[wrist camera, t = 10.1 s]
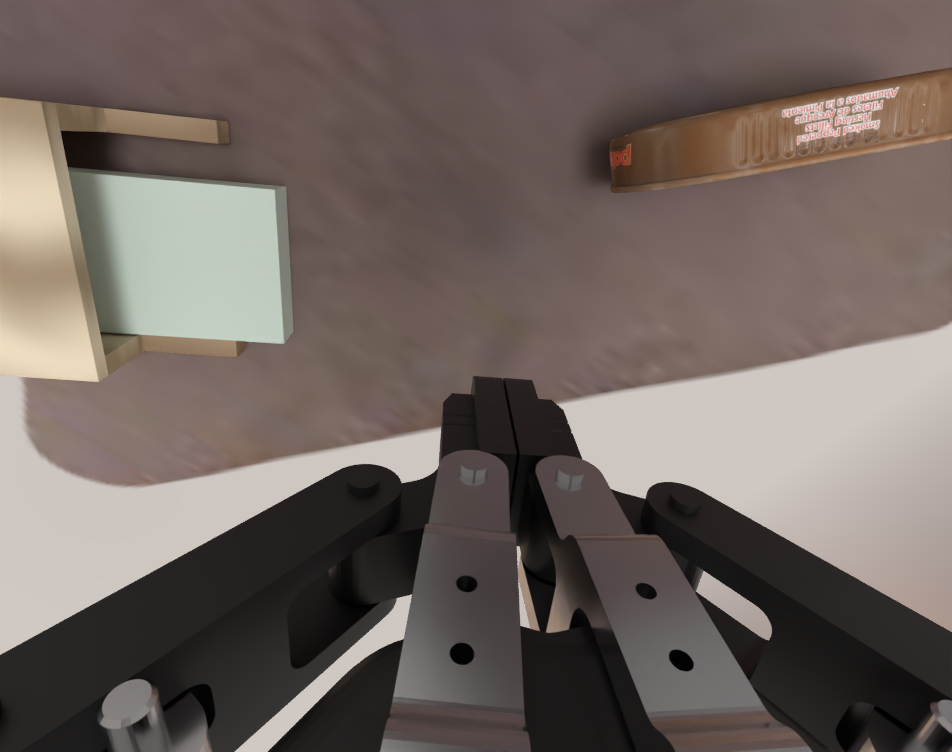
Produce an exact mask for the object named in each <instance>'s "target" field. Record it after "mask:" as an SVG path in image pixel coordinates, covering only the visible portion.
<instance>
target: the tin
mask: <svg viewBox="0 0 952 752" xmlns="http://www.w3.org/2000/svg"><path fill="white" fill-rule="evenodd" d="M948 139H952V68H946V69H940V70H934V71H927V72H921V73H916V74H910V75H904V76H898V77H892V78H887V79H881V80H875V81H870V82H864V83H858V84H852V85H846V86H841V87H835V88H830V89H824V90H819V91H814V92H809V93H804V94H798V95H793V96H788V97H783V98H778V99H773V100H769V101H764V102H758V103H753V104H748V105H743V106H738V107H733V108H728V109H723V110H718V111H713V112H708V113H704V114H699V115H694V116H689V117H684V118H680V119H675V120H671V121H667V122H663V123H659V124H655V125H651V126H647V127H643V128H641V129H638V130H636V131H634V132H631V133H625V134H619V135H616V136H615V137H613V138H612V140H611V142H610V164H611V175H612V186H611V187H610V191H611V192H613V193H622V192H623V193H626V192H639V191H649V190H659V189H667V188H674V187H681V186H687V185H695V184H702V183H708V182H714V181H721V180H726V179H733V178H738V177H744V176H750V175H756V174H760V173H766V172H772V171H778V170H783V169H788V168H795V167H800V166H805V165H811V164H816V163H822V162H827V161H832V160H838V159H844V158H849V157H855V156H860V155H866V154H871V153H878V152H883V151H888V150H893V149H899V148H906V147H911V146H917V145H922V144H928V143H933V142H939V141H944V140H948Z"/></svg>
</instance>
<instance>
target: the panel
mask: <svg viewBox="0 0 952 752" xmlns="http://www.w3.org/2000/svg"><path fill="white" fill-rule="evenodd" d="M68 172H69V177H70V182H71V187H72V192H73V197H74V203H75V208H76V213H77V218H78V223H79V228H80V233H81V238H82V243H83V248H84V253H85V258H86V263H87V269H88V274H89V279H90V284H91V289H92V294H93V299H94V304H95V309H96V314H97V319H98V324H99V329H100V332H108V333H123V334H139V335H154V336H170V337H186V338H201V339H217V340H232V341H248V342H264V343H279V344H284V343H285V342H286V341H287V339H288V338H289V337H290V336H291V334H292V333H293V332H294V330H293V310H292V291H291V272H290V253H289V233H288V214H287V195H286V187H285V186H274V185H263V184H252V183H241V182H229V181H218V180H207V179H196V178H185V177H174V176H162V175H151V174H140V173H129V172H118V171H106V170H95V169H84V168H73V167H68Z"/></svg>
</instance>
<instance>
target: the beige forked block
mask: <svg viewBox="0 0 952 752" xmlns="http://www.w3.org/2000/svg"><path fill="white" fill-rule="evenodd" d="M61 131H91V132H112V133H122V134H131V135H141V136H150V137H160V138H169V139H178V140H188V141H197V142H207V143H216V144H230V135H229V123H228V122H227V121H218V120H209V119H200V118H191V117H182V116H173V115H164V114H155V113H146V112H136V111H127V110H118V109H109V108H100V107H91V106H82V105H73V104H64V103H55V102H46V101H37V100H27V99H18V98H9V97H0V375H3V376H17V377H33V378H48V379H63V380H79V381H94V382H99V381H101V380H102V379H104V378H105V377H106V376H108V375H109V374H111V373H112V372H114V371H115V370H116V369H118V368H119V367H121V366H122V365H124V364H125V363H127V362H128V361H129V360H131V359H132V358H134V357H135V356H137V355H138V354H139V353H141V352H142V351H154V352H168V353H182V354H196V355H210V356H224V357H238V356H239V355H240V354H241V353H242V352H243V351H244V350H245V349H246V341H232V340H217V339H201V338H186V337H170V336H154V335H139V334H123V333H108V332H100V329H99V324H98V319H97V314H96V309H95V304H94V299H93V294H92V289H91V284H90V279H89V274H88V269H87V263H86V258H85V253H84V248H83V243H82V238H81V233H80V228H79V223H78V218H77V213H76V208H75V203H74V197H73V192H72V187H71V182H70V177H69V172H68V167H67V162H66V157H65V152H64V147H63V142H62V137H61Z"/></svg>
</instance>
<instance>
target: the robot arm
mask: <svg viewBox="0 0 952 752" xmlns="http://www.w3.org/2000/svg"><path fill="white" fill-rule="evenodd" d="M516 546H520V550H521V557H520V563H519V568H517V547H516ZM703 571H705V572H707V573H708V574H710V575H711V576H713V577H714V578H716V579H717V580H719V581H720V582H722V583H723V584H725V585H726V586H728V587H729V588H731V589H732V590H734V591H735V592H737V593H738V594H740V595H741V596H743V597H744V598H746V599H747V600H749V601H750V602H752V603H753V604H755V605H756V606H757V607H759V608H760V609H761V610H762V611H763V612H764V613H765V614H766V616H767V617H768V619H769V621H770V623H771V626H772V635H771V638H770V640H769V641H768V640H765V639H763V638H761V637H759V636H758V635H757V634H755V633H754V632H752V631H751V630H749V629H748V628H747V627H745V626H744V625H742V624H741V623H739V622H738V621H737V620H735V619H734V618H732V617H731V616H730V615H728V614H727V613H725V612H724V611H722V610H721V609H720V608H718V607H717V606H715V605H714V604H712V603H711V602H710V601H708V600H707V599H706V598H704V597H702V596H701V595H700V594H698V593H697V592H696V590H697V587H698V584H699V581H700V579H701V576H702V573H703ZM518 578H519V582H520V587H521V591H522V595H523V599H524V603H525V607H526V612H527V616H528V620H529V624H530V628H531V629H530V628H526V627H522V626H520V612H519V589H518ZM411 594H412V598H411V604H410V609H409V614H408V621H407V625H406V631H405V636H404V639H403V640H400V641H397V642H394V643H392V644H389V645H387V646H385V647H383V648H381V649H379V650H377V651H376V652H374V653H372V654H371V655H369V656H368V657H366V658H365V659H363V660H362V661H361V662H360V663H358V664H357V665H356V666H354V667H353V668H352V669H351V670H350V671H348V672H347V674H345V675H344V676H343V677H342V678H341V679H340V680H339V681H338V682H337V683H336V684H335V685H334V686H333V687H332V688H331V689H330V690H329V691H328V692H327V693H326V694H325V695H324V696H323V697H322V698H321V699H320V700H319V701H318V702H317V703H316V704H315V705H314V706H313V707H312V708H311V709H310V710H309V711H308V712H307V713H306V714H305V715H304V716H303V717H302V718H301V719H300V720H299V721H298V722H297V723H296V724H295V725H294V726H293V727H292V728H291V729H290V730H289V731H288V732H287V733H286V734H285V735H284V736H283V737H282V738H281V739H280V740H279V741H278V742H277V743H276V744H275V745H274V746H273V747H272V748H271V749H270V750H269V751H268V752H952V632H950V631H949V630H947V629H945V628H943V627H941V626H940V625H938V624H936V623H934V622H933V621H931V620H929V619H927V618H925V617H924V616H922V615H920V614H918V613H917V612H915V611H913V610H911V609H909V608H908V607H906V606H904V605H902V604H901V603H899V602H897V601H895V600H893V599H892V598H890V597H888V596H886V595H884V594H883V593H881V592H879V591H877V590H875V589H874V588H872V587H870V586H868V585H867V584H865V583H863V582H861V581H860V580H858V579H856V578H854V577H853V576H851V575H849V574H847V573H845V572H844V571H842V570H840V569H838V568H837V567H835V566H833V565H831V564H830V563H828V562H826V561H824V560H822V559H821V558H819V557H817V556H815V555H814V554H812V553H810V552H808V551H806V550H805V549H803V548H801V547H799V546H797V545H796V544H794V543H792V542H790V541H789V540H787V539H785V538H783V537H781V536H780V535H778V534H776V533H775V532H773V531H771V530H769V529H767V528H766V527H764V526H762V525H760V524H758V523H757V522H755V521H753V520H751V519H750V518H748V517H746V516H744V515H742V514H741V513H739V512H737V511H735V510H734V509H732V508H730V507H728V506H727V505H725V504H723V503H721V502H719V501H718V500H716V499H714V498H712V497H711V496H709V495H707V494H705V493H703V492H702V491H700V490H698V489H696V488H693V487H691V486H687V485H684V484H680V483H674V482H662V483H657V484H655V485H653V486H652V487H650V488H649V490H648V492H647V495H646V499H643V498H639V497H636V496H631V495H628V494H624V493H621V492H617V491H614V490H612V489H610V487H609V486H608V483H607V482H606V480H605V478H604V476H603V475H602V473H601V472H600V471H599V470H598V469H597V468H596V467H595V466H594V465H592V464H590V463H589V462H587V461H584V460H582V457H581V455H580V452H579V449H578V447H577V444H576V442H575V439H574V437H573V434H572V433H571V429H570V426H569V424H568V421H567V419H566V416H565V414H564V411H563V410H562V409H561V408H560V407H559V406H558V405H557V404H555V403H554V402H553V401H552V400H545V399H538V397H537V394H536V390H535V387H534V384H533V381H532V380H524V379H509V378H503V380H502V378H494V377H480V376H473V381H472V390H471V395H469V394H455V393H452V394H451V395H450V396H449V397H448V398H447V399H446V400H445V401H444V403H443V415H442V428H441V441H440V453H439V466H438V469H437V470H436V471H435V472H434V473H432V474H431V475H429V476H427V477H425V478H423V479H420V480H417V481H412V482H406V483H401V481H400V478H399V477H398V476H397V475H396V474H395V473H394V472H393V471H391V470H389V469H387V468H385V467H382V466H378V465H372V464H360V465H353V466H348V467H345V468H342V469H340V470H338V471H336V472H334V473H333V474H331V475H329V476H327V477H325V478H323V479H322V480H320V481H318V482H316V483H314V484H312V485H311V486H309V487H307V488H305V489H303V490H302V491H300V492H298V493H296V494H294V495H292V496H290V497H289V498H287V499H285V500H283V501H281V502H280V503H278V504H276V505H274V506H272V507H271V508H268V509H267V510H265V511H263V512H261V513H259V514H258V515H256V516H254V517H252V518H250V519H248V520H247V521H245V522H243V523H241V524H239V525H237V526H236V527H234V528H232V529H230V530H229V531H227V532H225V533H223V534H221V535H219V536H217V537H216V538H214V539H212V540H210V541H208V542H207V543H205V544H203V545H201V546H199V547H197V548H195V549H193V550H192V551H190V552H188V553H186V554H184V555H182V556H181V557H179V558H177V559H175V560H173V561H172V562H170V563H168V564H166V565H164V566H163V567H161V568H159V569H157V570H155V571H153V572H151V573H150V574H148V575H146V576H144V577H142V578H140V579H139V580H137V581H135V582H133V583H131V584H129V585H128V586H126V587H124V588H122V589H120V590H118V591H117V592H115V593H113V594H111V595H109V596H107V597H106V598H104V599H102V600H100V601H98V602H96V603H95V604H93V605H91V606H89V607H87V608H85V609H84V610H82V611H80V612H78V613H76V614H75V615H73V616H71V617H69V618H67V619H65V620H63V621H62V622H60V623H58V624H56V625H54V626H53V627H51V628H49V629H47V630H45V631H43V632H42V633H40V634H38V635H36V636H34V637H33V638H31V639H29V640H27V641H25V642H23V643H22V644H20V645H18V646H16V647H14V648H12V649H10V650H9V651H7V652H5V653H3V654H1V655H0V752H234V751H235V750H237V749H238V748H239V747H240V746H241V745H242V744H243V743H244V742H246V741H247V740H248V739H249V738H250V737H251V736H252V735H253V734H254V733H256V732H257V731H258V730H259V729H260V728H261V727H262V726H263V725H265V724H266V723H267V722H268V721H269V720H270V719H271V718H272V717H273V716H275V715H276V714H277V713H278V712H279V711H280V710H281V709H282V708H284V707H285V706H286V705H287V704H288V703H289V702H290V701H291V700H293V699H294V698H295V697H296V696H297V695H298V694H299V693H300V692H301V691H303V690H304V689H305V688H306V687H307V686H308V685H309V684H310V683H312V682H313V681H314V680H315V679H316V678H317V677H318V676H319V675H320V674H322V673H323V672H324V671H325V670H326V669H327V668H328V667H329V666H331V665H332V664H333V663H334V662H335V661H336V660H337V659H338V658H339V657H341V656H342V655H343V654H344V653H345V652H346V651H347V650H348V649H350V647H352V646H353V645H354V644H355V643H356V642H357V641H358V640H360V638H362V637H363V636H364V635H365V634H366V633H367V632H369V630H371V629H372V628H373V627H374V626H375V625H376V624H378V623H379V622H380V621H381V620H382V619H383V618H384V617H385V616H386V615H387V614H388V613H389V612H390V611H391V610H392V609H393V607H394V605H395V603H396V599H397V598H399V597H403V596H407V595H411Z"/></svg>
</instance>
